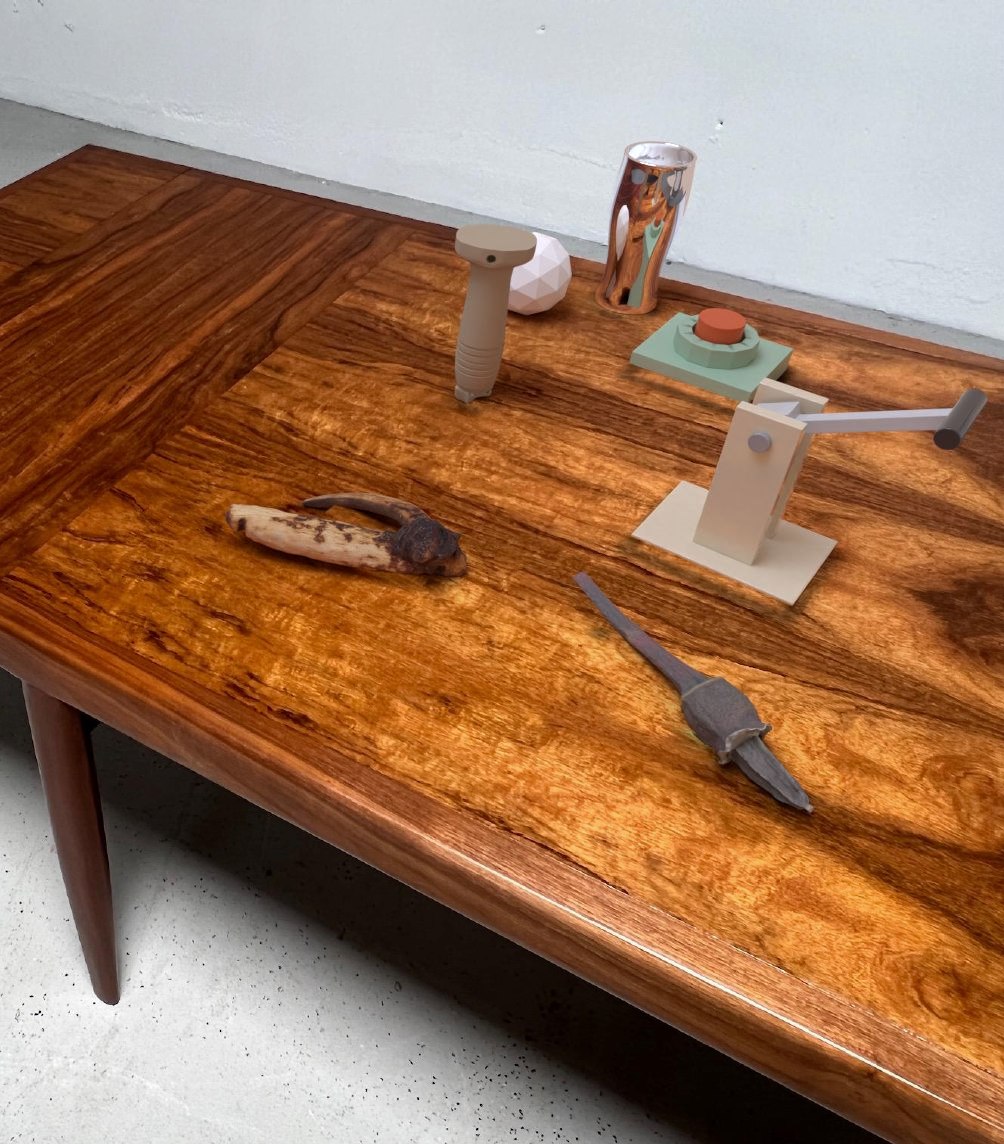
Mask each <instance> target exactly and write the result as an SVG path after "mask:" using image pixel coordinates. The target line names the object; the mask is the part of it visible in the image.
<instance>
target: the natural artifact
mask: <svg viewBox="0 0 1004 1144" xmlns="http://www.w3.org/2000/svg"><path fill="white" fill-rule="evenodd" d="M571 578H572V579H573V580H574V581H575V582H576V583H577V584H578V586H579V588H581V590H582V591H583V592H584V594H586V596H587V598H589V600H590V601H591V602H592V604H593V605H594V607H596V608H597V610H598V611H599V613H600V614H601V615H602V616H603V618H604V619H605V620H606V621H607V622H608V623H609V625H610V626H612V628H613V629H614V630H615V631H616V632H617V633H618V634H619V635H620V636H621V637H622V638H623V639H625V640H626V641H627V643H629V644H630V645H631V646H632V648H634V649H636V650H637V651H638V652H639V653H641V654H642V655H643V656H644V657H645V658H646V659H647V660H648V661H649V662H650V663H652V664H653V665H654V666H655V667H656V668H657V669H658V670H659V671H660V672H661V673H662V674H664V676H665V677H666V678H667V679H668V680H669V681H670V682H671V683H672V684H673V685H674V688H675V689H677V690H678V692H679V694H680V699H681V704H680V709H681V710H682V712H683V716H684V719H685V722H686V724H687V725H688V726H689V727H690V728H691V730H692V731H693V732H692V731H691V732H692V734H693V735H694V736H695V737H696V738H697V739H698V740H700V741H701V742H702V743H703V744H704V745H706V746H708V747H709V748H711V749H713V750H714V752H716V755H717V756H718V757H719V760H718V761H717V763H718V764H719V765H726V764H728V763H730V762H732V761H733V762H735V763H736V764H737V765H738V767H739V768H740V769H741V771H742V772H744V773H745V775H747V777H748V778H749V779H750V780H752V781H753V782H754V783H755V784H756V785H758V786H760V787H761V788H763V790H765V791H767V792H768V793H770V794H771V795H772V796H773V797H774V798H775V799H776V800H778V801H779V802H780V803H784V804H787V805H789V806H791V807H794V808H795V809H797V810H801V811H802V810H805V811H807V812H808V813H809V814H811V813H812V812H813V811H814V809H815V807H814V806H813V805H811V804H810V799H809V797H808V795H807V793H806V791H805V790H804V788H803V787H802V786H801V784H800V783H799V781H798V780H797V778H795V777H794V776H793V775H792V774H790V772H789V771H788V769H787V768H786V767H785V766H784V765H783V763H782V762H781V761H780V760H779V759H778V757H777V756H776V755H775V754H774V753H773V752H772V751H771V750H770V749H769V747H768V746H767V745H766V744H765V743H764V742H763V740H764V739H765V736H767V735H768V733H770V732H771V731H772V730H773V725H772V724H771V723H770V722H768V723H766V722H763V721H762V720H761V718H760V716H759V714H758V710H757V708H756V706H755V704H754V703H753V702H752V701H751V700H750V698H749V697H748V696H747V695H746V694H745V693H743V692H742V691H741V690H740V689H739V688H738V687H737V686H735V685H734V684H732V683H730V682H728V681H727V679H726V678H725V677H723V676H722V675H720V676H711V677H708V676H707V675H705V674H704V673H703V672H700V671H698V670H696V669H695V668H693V666H690V665H689V664H687V662H686V663H685V662H684V661H683V660H682V659H679V657H677V656H675V655H674V654H672V653H671V652H670V651H668V650H667V649H666V648H664V647H663V646H662V645H661V644H659V643H658V642H657V641H656V640H654V639H653V638H652V637H650V636H649V634H647V633H646V631H644V630H643V629H642V628H641V627H640V625H639V624H638V623H637V622H635V621H634V620H632V619H630V618H629V617H628V616H626V615H625V614H624V613H623V611H621V610H620V609H619V608H618V606H616V605H615V604H614V603H613V602H612V601H611V599H609V598H608V597H607V596H606V594H605V593H604V592H603V591H602V590H601V588H600V587H599V586H598V585H597V584H596V583H595V582H594V581H593V579H592V578H591V577H590V576H589V575H588V574H587V573H586V572H584V571H581V572H579V573H576V574H575V575H573V576H572V577H571Z"/></svg>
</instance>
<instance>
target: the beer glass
mask: <svg viewBox="0 0 1004 1144" xmlns="http://www.w3.org/2000/svg"><path fill="white" fill-rule="evenodd" d="M697 161H698V155H697V154H696V153H695V151H693V150H692V149H690V148H688V147H686V146H683V145H680V144H676V143H673V142H666V141H658V140H657V141H655V140H652V141H651V140H646V141H645V140H644V141H638V142H633V143H631V144H628V145H626V147H625V148H624V150H623V155H622V158H621V161H620V164H619V168H618V170H617V175H616V178H615V182H614V186H613V190H612V195H611V200H610V204H609V216H608V231H607V232H608V234H607V255H606V256H607V257H606V262H605V267H604V270H603V274H602V277H601V279H600V281H599V283H598V286H597V288H596V291H595V293H594V300H595V302H596V303H597V305H599V306H600V307H601V308H603V309H605V310H607V311H610V312H612V313H616V314H620V315H626V316H627V315H629V316H636V315H637V316H638V315H644V314H647V313H650V312H652V311H653V310H655V308H656V307H657V304H658V296H659V283H660V277H661V273H662V269H663V266H664V264H665V261H666V259H667V256H668V254H669V252H670V249H671V248H672V245H673V243H674V241H675V239H676V237H677V235H678V232H679V230H680V227H681V226H682V222H683V220H684V217H685V214H686V211H687V208H688V205H689V200H690V196H691V193H692V189H693V182H694V176H695V169H696V165H697Z"/></svg>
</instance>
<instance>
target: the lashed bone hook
mask: <svg viewBox="0 0 1004 1144" xmlns="http://www.w3.org/2000/svg"><path fill="white" fill-rule="evenodd" d="M301 505H303V506H305V507H312V508H322V509H332V508H333V507H334V506H339V507H343V508H349V509H350V508H351V509H358V510H363V511H367V512H371V513H374V514H378V515H382V516H384V517H388V518H390V519H392V520H394V521H396V522H397V523H399V525H401V527H400V528H399V529H398V531H396V532H397V533H396V532H394V531H392V530H389V529H388V530H387V529H386V530H380V529H374V528H371V527H368V526H367V527H366V526H361V525H357V524H352V523H348V522H344V521H341V520H332V519H331V520H330V519H327V518H321V517H319V516H314V515H304V514H301V513H300V514H299V513H293V512H292V513H291V512H285V511H282V510H280V509H276V508H272V507H265V506H259V505H254V504H244V503H232V504H231V505H229V507H228V509H227V510H226V512H225V521H226V522H225V523H226V524H227V525H228V526H229V528H230V529H232V530H233V531H234V532H243V531H244V535H245V537H246V538H247V539H250V540H252V541H253V542H255V543H258V544H261V545H263V546H266V547H267V548H270V549H273V550H277V551H279V552H280V551H281V552H283V553H286V554H291V555H297V556H302V557H307V558H309V559H313V560H318V561H322V562H325V563H330V564H337V565H340V566H347V567H350V568H353V569H354V568H355V569H362V570H367V571H373V572H378V573H379V571H383V572H390V573H396V574H399V575H413V576H418V575H423V574H424V573H426V574H428V575H433V574H434V573H435V574H440V575H442V576H444V577H462V576H464V575H465V574H466V572H467V571H468V562H467V554H466V553H464V552H463V550H462V549H461V547H460V544H459V540H460V539H461V537H462V533H461V532H454V531H452V530H451V529H450V528H449V529H448V528H446V527H445V526H444V525H443V524H442V522H440V521H438V520H437V519H432V518H431V517H430V516H429V515H428V514H427V513H426V512H425V511H424V510H423V509H422V508H420V507H419V506H417V505H415V504H414V503H412V502H409V501H407V500H404V499H400V498H397V497H392V496H387V495H383V494H376V493H369V492H338V493H328V494H323V495H317V496H313V497H309V498H306V499H303V500H302V502H301Z"/></svg>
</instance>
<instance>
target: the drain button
mask: <svg viewBox="0 0 1004 1144" xmlns="http://www.w3.org/2000/svg"><path fill="white" fill-rule="evenodd" d="M698 315H699V317H698V321H697V324H696V328H695V331H694V334H695V335H696V336H697V337H699V338H700V339H701V340H704V341H707V342H710V343H713V344H721V345H732V344H737V343H739V342H740V341H741V338H742V335H743V332H744V329H745V326H746V324H747V320H746V318H745V317H744V316H743V315H742V314H740V313H738V312H736V311H734V310H730V309H727V308H719V307H712V308H706V309H704V310H701V312H700V313H699V314H698Z"/></svg>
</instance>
